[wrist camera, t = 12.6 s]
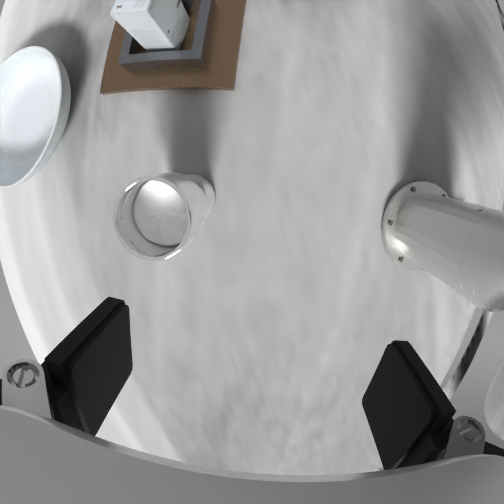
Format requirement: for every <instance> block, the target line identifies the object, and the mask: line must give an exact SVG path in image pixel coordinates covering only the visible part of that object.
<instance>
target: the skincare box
mask: <svg viewBox="0 0 504 504" xmlns="http://www.w3.org/2000/svg"><path fill="white" fill-rule="evenodd" d="M110 15H111V16H112V17H113V18H114V19H115V20H116V21H117V22H118V23H119V24H120V25H121V26H122V27H123V28H124V29H125V30H126V31H127V32H128V33H129V34H130V35H131V36H133V37H134V38H135V39H136V40H137V41H138V42H139V43H140V44H141V45H142V46H143V47H144V48H145V49H146V50H147V51H148V52H161V51H177V50H180V49H181V46H182V43H183V40H184V37H185V34H186V31H187V28H188V24H189V20H190V18H189V16H188V14H187V12H186V10H185V8H184V6H183V4H182V2H181V0H116V1H115V3H114V5H113V7H112V10H111V12H110Z"/></svg>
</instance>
